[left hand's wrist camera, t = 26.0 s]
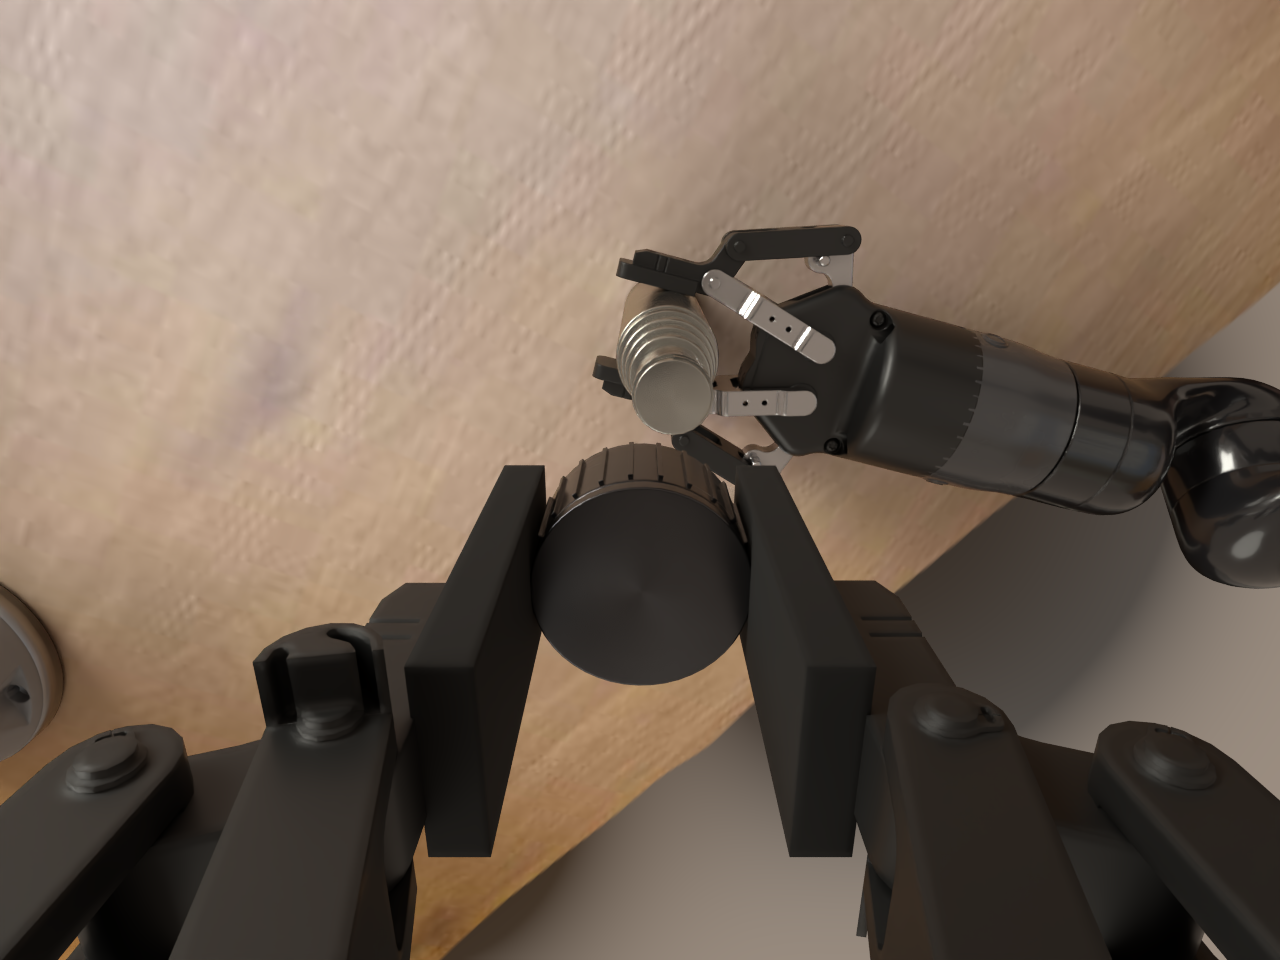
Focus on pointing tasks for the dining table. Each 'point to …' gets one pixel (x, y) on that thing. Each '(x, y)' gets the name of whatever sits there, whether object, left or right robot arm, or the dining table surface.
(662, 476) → the cap
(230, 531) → the dining table surface
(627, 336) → the bottle
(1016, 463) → the right robot arm
